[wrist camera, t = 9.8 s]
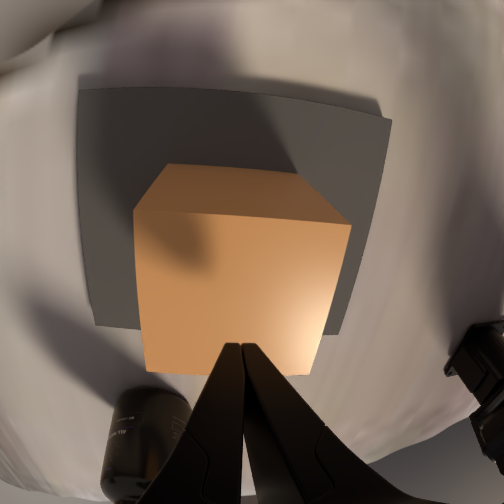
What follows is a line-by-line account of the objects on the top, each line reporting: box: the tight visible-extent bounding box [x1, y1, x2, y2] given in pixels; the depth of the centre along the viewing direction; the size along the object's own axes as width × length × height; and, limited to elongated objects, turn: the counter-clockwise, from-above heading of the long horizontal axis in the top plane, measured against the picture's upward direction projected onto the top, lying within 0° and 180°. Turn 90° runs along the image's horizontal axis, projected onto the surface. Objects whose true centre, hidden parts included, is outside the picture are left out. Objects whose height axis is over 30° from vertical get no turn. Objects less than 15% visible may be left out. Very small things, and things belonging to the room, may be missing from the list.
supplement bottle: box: [100, 388, 192, 504], centre depth 19 cm, size 7×7×12 cm
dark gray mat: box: [77, 87, 392, 335], centre depth 17 cm, size 16×14×1 cm
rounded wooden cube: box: [133, 164, 352, 375], centre depth 13 cm, size 6×6×7 cm
